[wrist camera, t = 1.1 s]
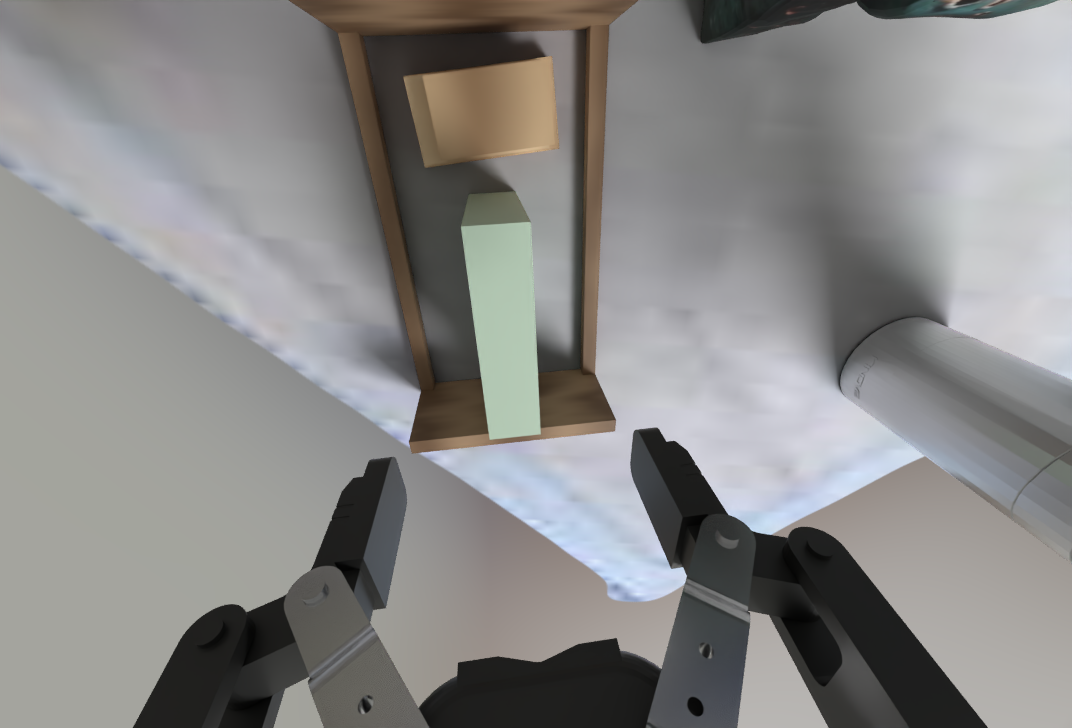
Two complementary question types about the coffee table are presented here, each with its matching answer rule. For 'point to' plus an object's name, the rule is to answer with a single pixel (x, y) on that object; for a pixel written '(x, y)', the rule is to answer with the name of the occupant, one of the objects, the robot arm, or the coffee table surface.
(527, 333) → the pale green block
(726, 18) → the green animal sculpture
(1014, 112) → the coffee table surface
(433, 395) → the walnut rack
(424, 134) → the offcut block
